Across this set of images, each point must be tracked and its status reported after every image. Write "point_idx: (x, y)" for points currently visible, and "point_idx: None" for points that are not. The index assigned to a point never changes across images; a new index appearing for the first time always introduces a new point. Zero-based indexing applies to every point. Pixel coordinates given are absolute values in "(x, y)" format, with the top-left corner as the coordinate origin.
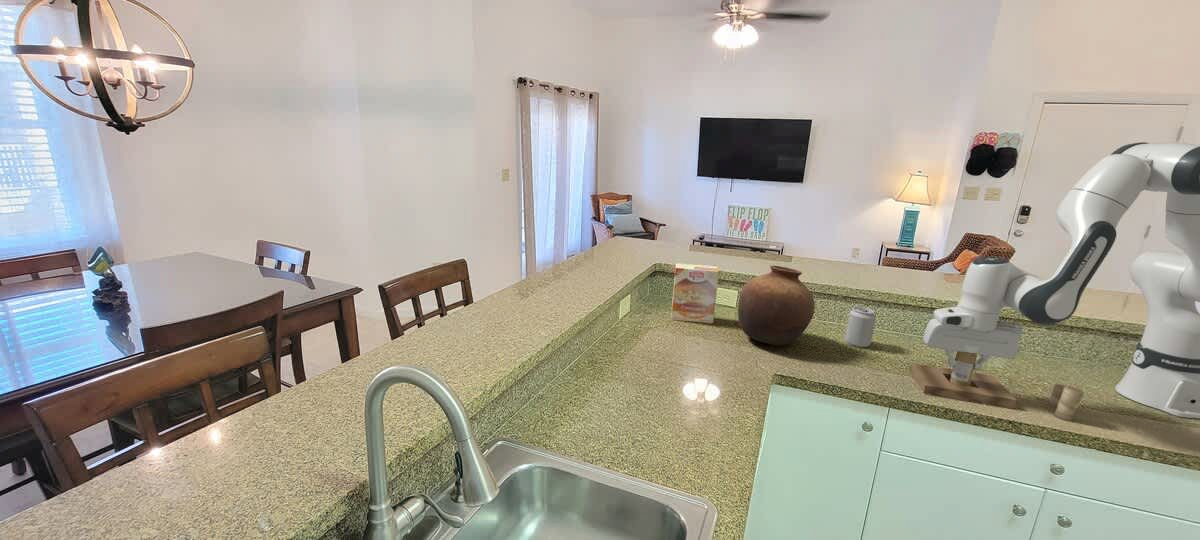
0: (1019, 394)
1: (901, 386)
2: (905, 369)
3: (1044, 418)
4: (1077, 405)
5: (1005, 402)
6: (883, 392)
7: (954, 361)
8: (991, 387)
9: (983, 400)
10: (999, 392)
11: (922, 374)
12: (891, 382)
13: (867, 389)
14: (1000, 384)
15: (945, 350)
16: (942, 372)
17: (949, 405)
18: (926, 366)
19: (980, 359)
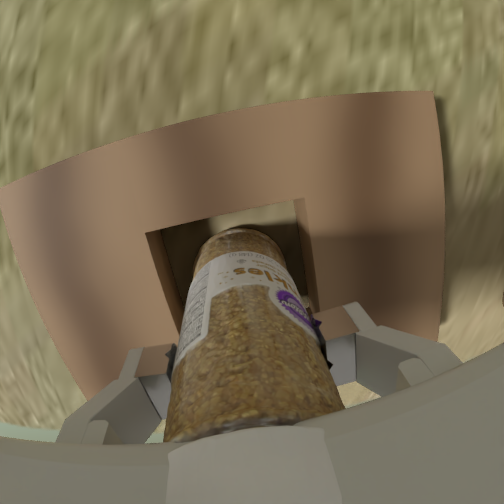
0: (479, 165)
1: (43, 372)
2: (11, 172)
3: (468, 335)
4: None
5: None
6: (32, 426)
7: None
8: (387, 284)
9: None
10: (401, 323)
11: (63, 326)
12: (13, 355)
13: (4, 422)
14: (440, 212)
15: (69, 432)
16: (146, 224)
17: None
18: (61, 183)
19: (386, 364)
